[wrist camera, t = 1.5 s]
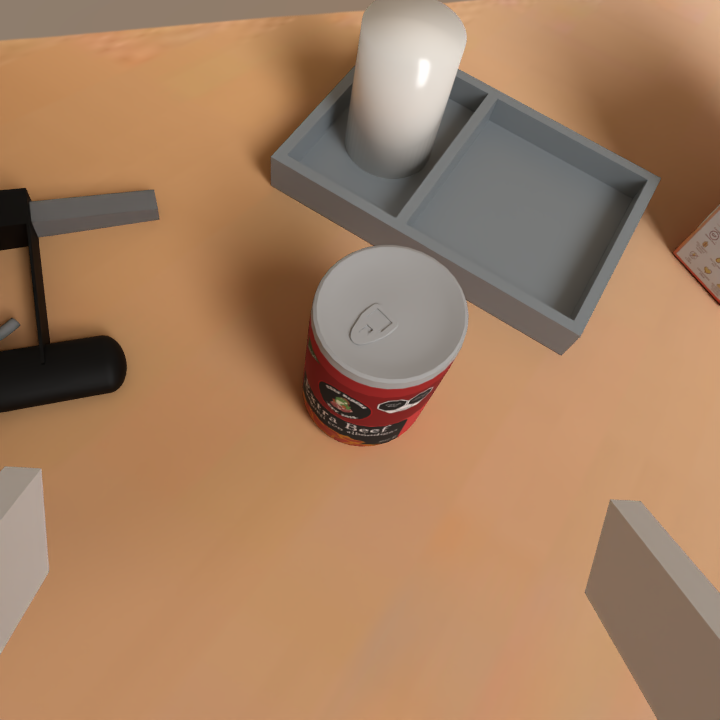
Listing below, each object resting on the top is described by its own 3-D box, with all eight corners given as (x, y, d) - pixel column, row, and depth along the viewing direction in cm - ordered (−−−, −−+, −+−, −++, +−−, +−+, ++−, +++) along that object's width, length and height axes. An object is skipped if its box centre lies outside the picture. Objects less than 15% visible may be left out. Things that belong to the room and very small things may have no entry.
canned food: (277, 409, 40) (280, 330, 30) (344, 316, 43) (366, 216, 33) (383, 475, 39) (421, 416, 29) (443, 374, 42) (495, 290, 32)
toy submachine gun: (139, 116, 45) (-123, 133, 41) (190, 369, 38) (-121, 424, 34) (144, 149, 48) (-99, 169, 44) (192, 390, 41) (-94, 443, 37)
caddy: (270, 185, 47) (270, 156, 44) (381, 62, 53) (387, 30, 51) (561, 355, 44) (580, 336, 41) (640, 203, 51) (660, 178, 48)
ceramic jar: (328, 150, 48) (341, 34, 39) (373, 98, 51) (395, -22, 41) (403, 193, 47) (435, 85, 38) (445, 138, 50) (484, 25, 41)
